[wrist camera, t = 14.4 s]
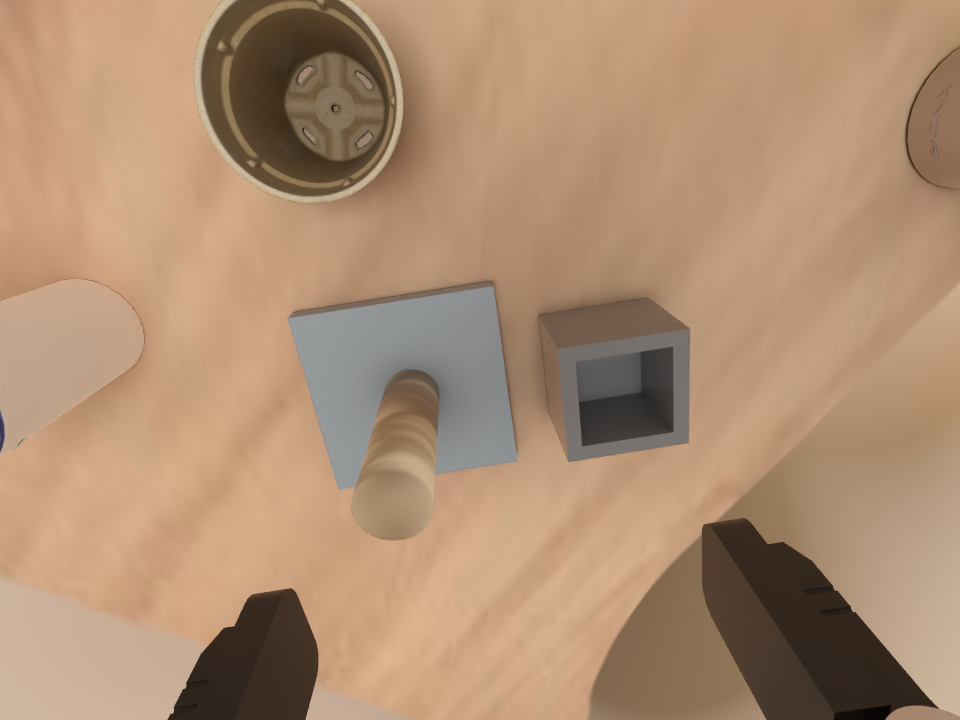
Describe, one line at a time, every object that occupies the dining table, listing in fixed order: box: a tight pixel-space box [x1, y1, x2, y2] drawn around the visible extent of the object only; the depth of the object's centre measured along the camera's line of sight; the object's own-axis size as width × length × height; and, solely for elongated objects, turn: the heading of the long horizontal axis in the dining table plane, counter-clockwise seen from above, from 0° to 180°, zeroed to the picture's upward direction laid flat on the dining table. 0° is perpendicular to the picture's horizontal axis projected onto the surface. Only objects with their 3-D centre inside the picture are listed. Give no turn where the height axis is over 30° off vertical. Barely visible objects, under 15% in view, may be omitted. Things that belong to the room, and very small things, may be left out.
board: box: [288, 281, 517, 489], centre depth 38 cm, size 14×14×2 cm
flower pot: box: [193, 0, 404, 204], centre depth 28 cm, size 9×9×9 cm
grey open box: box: [538, 298, 690, 462], centre depth 36 cm, size 8×8×7 cm
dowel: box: [351, 370, 440, 540], centre depth 32 cm, size 4×4×13 cm
